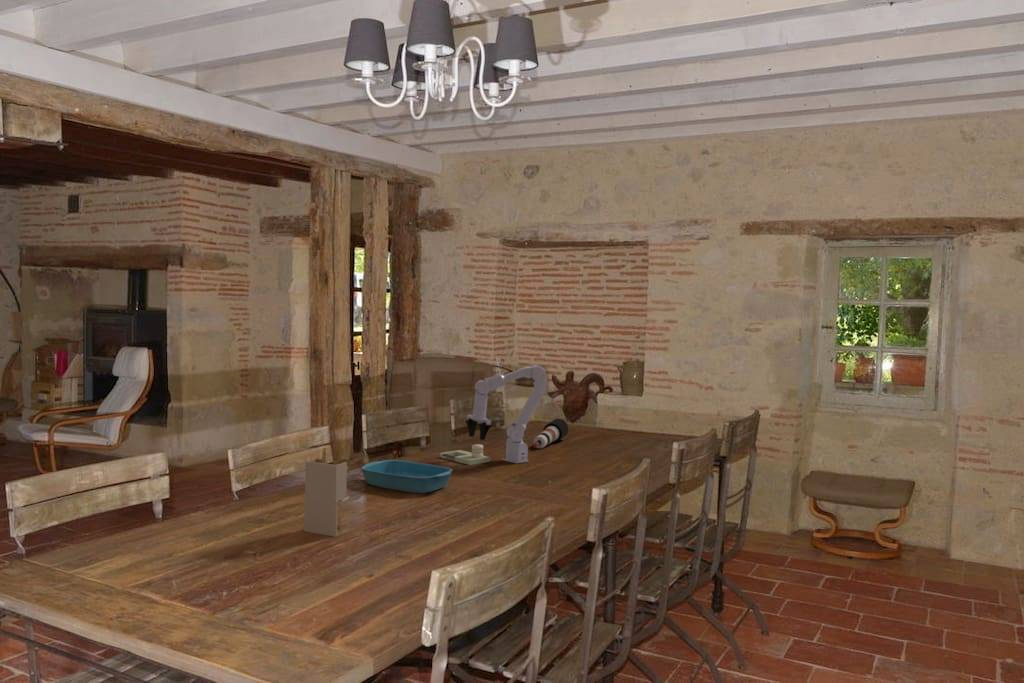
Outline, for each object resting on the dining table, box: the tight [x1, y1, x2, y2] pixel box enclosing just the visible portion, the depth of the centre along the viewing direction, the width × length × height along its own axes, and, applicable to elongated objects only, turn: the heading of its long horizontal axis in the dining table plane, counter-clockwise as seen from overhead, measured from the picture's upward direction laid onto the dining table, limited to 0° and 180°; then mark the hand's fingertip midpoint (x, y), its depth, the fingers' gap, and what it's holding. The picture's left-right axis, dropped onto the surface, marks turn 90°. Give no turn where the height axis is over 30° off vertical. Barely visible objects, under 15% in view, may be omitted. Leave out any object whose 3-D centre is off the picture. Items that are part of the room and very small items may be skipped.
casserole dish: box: [361, 459, 453, 494], centre depth 308 cm, size 37×22×7 cm, turn 60°
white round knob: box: [471, 443, 484, 458], centre depth 356 cm, size 5×5×5 cm
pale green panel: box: [439, 449, 491, 466], centre depth 359 cm, size 20×12×2 cm, turn 45°
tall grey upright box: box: [303, 447, 350, 538], centre depth 245 cm, size 8×12×26 cm
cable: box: [532, 418, 569, 449], centre depth 402 cm, size 10×34×10 cm, turn 157°
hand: (476, 438), depth 357 cm, fingers open, 7 cm apart
